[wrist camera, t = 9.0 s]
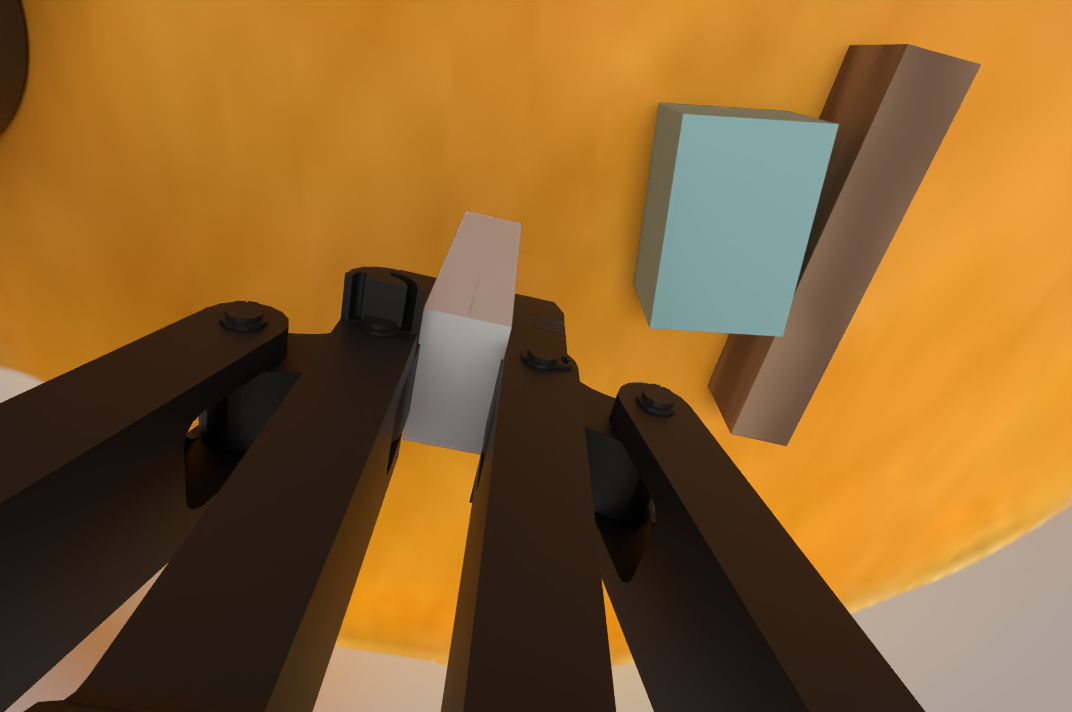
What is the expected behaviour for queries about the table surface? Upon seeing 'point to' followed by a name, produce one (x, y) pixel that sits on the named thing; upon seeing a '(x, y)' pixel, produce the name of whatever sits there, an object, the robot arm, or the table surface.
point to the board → (845, 227)
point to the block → (728, 216)
